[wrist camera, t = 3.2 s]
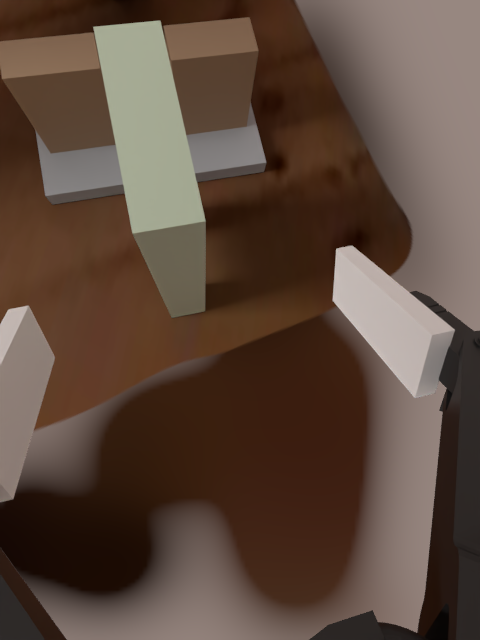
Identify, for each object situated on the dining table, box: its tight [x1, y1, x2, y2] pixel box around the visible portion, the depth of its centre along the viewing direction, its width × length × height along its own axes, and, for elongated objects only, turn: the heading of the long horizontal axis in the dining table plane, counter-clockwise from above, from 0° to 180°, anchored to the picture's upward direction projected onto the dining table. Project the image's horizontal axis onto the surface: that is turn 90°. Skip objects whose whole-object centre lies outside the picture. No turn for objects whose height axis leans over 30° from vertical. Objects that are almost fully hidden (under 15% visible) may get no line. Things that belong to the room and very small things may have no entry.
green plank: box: [93, 21, 206, 318], centre depth 25 cm, size 3×10×18 cm, turn 13°
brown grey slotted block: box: [0, 17, 266, 205], centre depth 31 cm, size 20×11×10 cm, turn 103°
